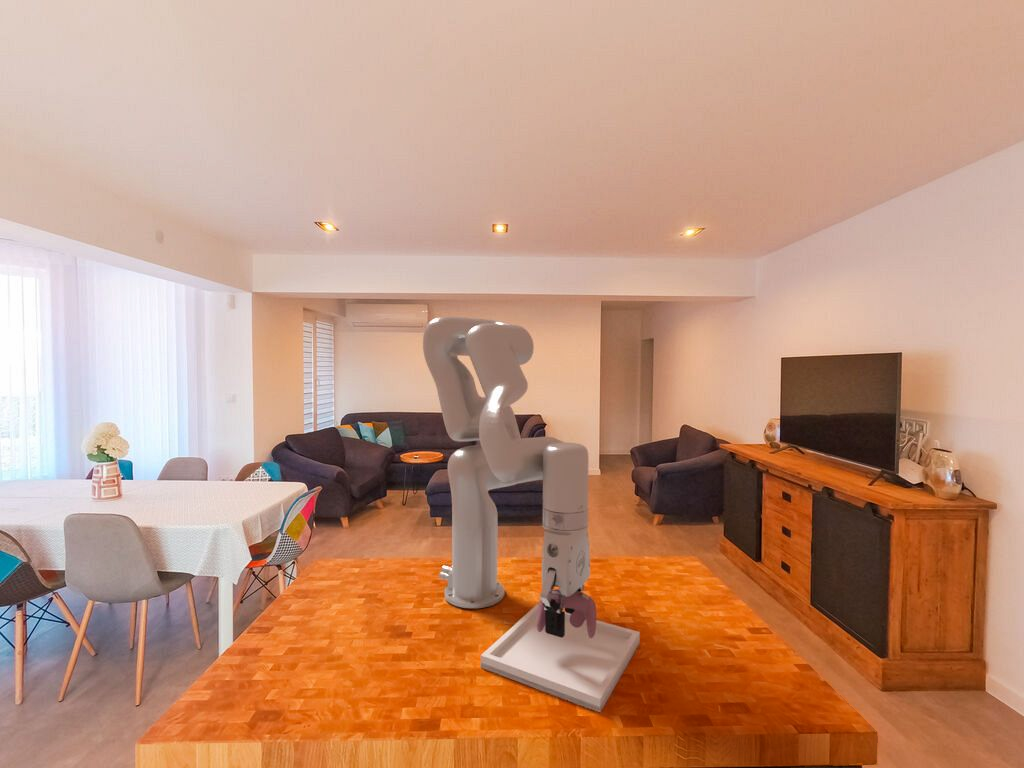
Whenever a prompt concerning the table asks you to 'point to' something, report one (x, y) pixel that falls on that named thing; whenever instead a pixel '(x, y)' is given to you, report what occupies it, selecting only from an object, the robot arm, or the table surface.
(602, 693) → the tray
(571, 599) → the video game controller
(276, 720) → the table surface
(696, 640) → the table surface
